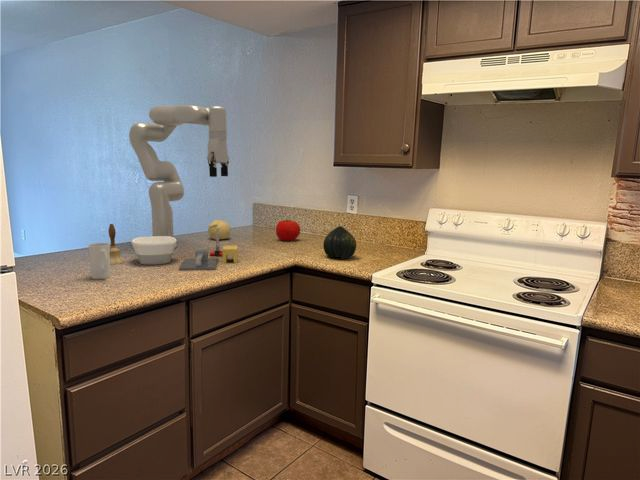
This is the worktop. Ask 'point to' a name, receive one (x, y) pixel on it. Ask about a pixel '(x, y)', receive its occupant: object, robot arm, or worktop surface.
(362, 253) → the worktop surface
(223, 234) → the sculpture
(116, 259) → the hand bell
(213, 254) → the tow hook
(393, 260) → the worktop surface
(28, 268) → the worktop surface
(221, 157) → the robot arm
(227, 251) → the notched yellow block
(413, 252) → the worktop surface
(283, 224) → the tomato
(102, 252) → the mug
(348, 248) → the squash
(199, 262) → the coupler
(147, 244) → the bowl
